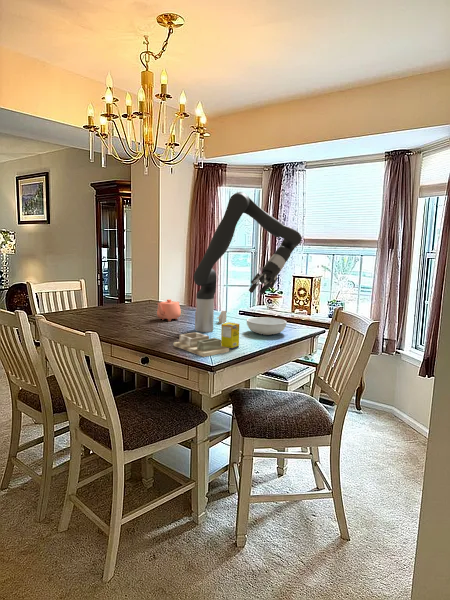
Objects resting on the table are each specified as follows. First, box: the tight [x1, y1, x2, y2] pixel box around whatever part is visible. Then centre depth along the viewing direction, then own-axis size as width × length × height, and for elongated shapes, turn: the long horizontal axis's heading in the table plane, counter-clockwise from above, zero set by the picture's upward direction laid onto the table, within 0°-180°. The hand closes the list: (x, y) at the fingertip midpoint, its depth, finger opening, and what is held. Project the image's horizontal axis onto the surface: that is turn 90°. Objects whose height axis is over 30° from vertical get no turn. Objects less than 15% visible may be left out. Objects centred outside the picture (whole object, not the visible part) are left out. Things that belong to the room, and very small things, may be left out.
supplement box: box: [220, 321, 240, 351], centre depth 187 cm, size 6×6×11 cm
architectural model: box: [216, 310, 228, 325], centre depth 242 cm, size 3×7×7 cm, turn 153°
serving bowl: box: [246, 316, 287, 336], centre depth 218 cm, size 21×21×7 cm
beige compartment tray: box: [173, 331, 230, 358], centre depth 184 cm, size 22×14×5 cm, turn 41°
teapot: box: [156, 298, 182, 322], centre depth 246 cm, size 20×12×12 cm, turn 148°
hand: (255, 292), depth 193 cm, fingers open, 8 cm apart
